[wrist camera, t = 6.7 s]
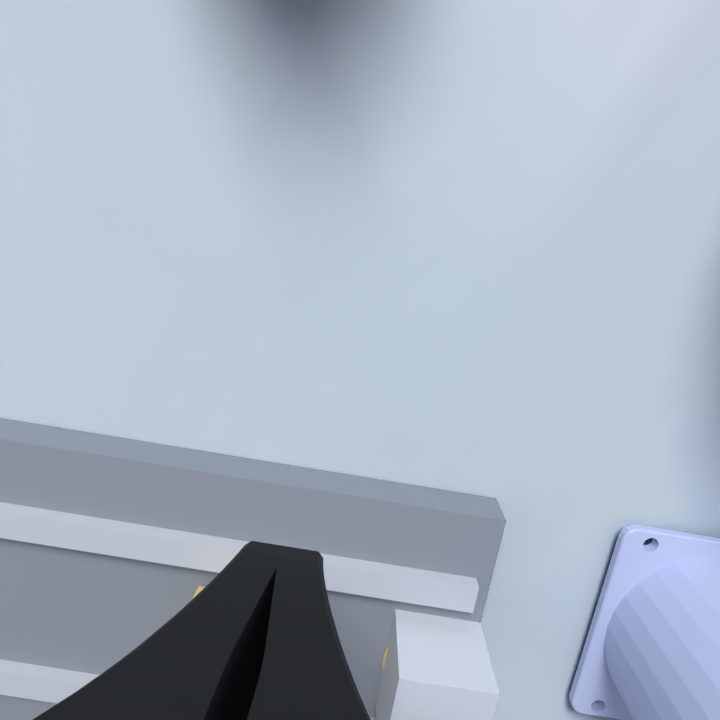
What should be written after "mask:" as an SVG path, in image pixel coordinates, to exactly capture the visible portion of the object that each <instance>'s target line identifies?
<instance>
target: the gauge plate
mask: <svg viewBox="0 0 720 720" xmlns="http://www.w3.org/2000/svg"><path fill="white" fill-rule="evenodd" d="M505 523H506V519H505V517H504V515H503V513H502V511H501V508H500V506H499V504H498V502H497V500H496V499H495V498H489V497H482V496H476V495H470V494H464V493H458V492H451V491H445V490H439V489H433V488H427V487H421V486H414V485H408V484H402V483H396V482H390V481H384V480H377V479H371V478H365V477H359V476H353V475H347V474H340V473H334V472H328V471H322V470H316V469H309V468H303V467H297V466H291V465H285V464H279V463H272V462H266V461H260V460H254V459H248V458H242V457H235V456H229V455H223V454H217V453H211V452H204V451H198V450H192V449H186V448H180V447H174V446H167V445H161V444H155V443H149V442H143V441H137V440H130V439H124V438H118V437H112V436H106V435H100V434H93V433H87V432H81V431H75V430H69V429H62V428H56V427H50V426H44V425H38V424H32V423H25V422H19V421H13V420H7V419H1V418H0V720H33V719H34V718H36V717H37V716H39V715H40V714H42V713H44V712H45V711H47V710H48V709H50V708H51V707H53V706H54V705H56V704H58V703H59V702H61V701H62V700H64V699H65V698H67V697H68V696H70V695H71V694H73V693H75V692H76V691H78V690H79V689H81V688H82V687H83V686H85V685H86V684H88V683H89V682H90V681H92V680H93V679H95V678H96V677H98V676H99V675H100V674H102V673H103V672H105V671H106V670H107V669H109V668H110V667H111V666H113V665H114V664H116V663H117V662H118V661H120V660H121V659H122V658H123V657H125V656H126V655H127V654H129V653H130V652H131V651H133V650H134V649H135V648H136V647H138V646H139V645H140V644H141V643H143V642H144V641H145V640H146V639H147V638H149V637H150V636H151V635H152V634H153V633H154V632H156V631H157V630H158V629H159V628H160V627H162V626H163V625H164V624H165V623H166V622H168V621H169V620H170V619H171V618H172V617H174V616H175V615H176V614H177V613H178V612H179V611H180V610H181V609H183V608H184V607H185V606H186V605H187V604H188V603H189V602H190V601H191V600H192V598H193V596H194V594H195V592H196V590H197V588H198V586H203V587H206V586H207V585H208V584H209V583H210V582H211V581H212V580H213V579H214V578H215V577H216V576H217V575H218V574H219V573H220V572H221V571H222V570H223V569H224V568H225V567H226V566H227V564H228V563H229V562H230V561H231V560H232V559H233V558H234V557H235V556H236V555H237V553H238V552H239V551H240V550H241V549H242V548H243V546H244V545H246V544H247V543H249V542H250V541H257V542H263V543H269V544H275V545H282V546H288V547H294V548H300V549H307V550H313V551H319V553H320V554H321V556H322V557H323V558H324V559H323V569H324V579H325V585H326V590H327V595H328V600H329V604H330V608H331V612H332V616H333V619H334V623H335V626H336V629H337V633H338V636H339V640H340V643H341V646H342V649H343V652H344V655H345V658H346V660H347V663H348V666H349V668H350V671H351V674H352V676H353V679H354V682H355V684H356V687H357V689H358V692H359V694H360V696H361V699H362V701H363V703H364V706H365V708H366V710H367V713H368V715H369V717H370V719H371V720H493V717H494V713H495V709H496V706H497V702H498V698H499V695H500V694H499V690H498V687H497V683H496V679H495V676H494V672H493V668H492V664H491V661H490V657H489V653H488V650H487V646H486V642H485V638H484V635H483V631H482V627H481V623H480V622H481V618H482V614H483V610H484V606H485V602H486V598H487V594H488V590H489V586H490V582H491V578H492V574H493V570H494V566H495V562H496V558H497V554H498V550H499V546H500V542H501V539H502V535H503V531H504V527H505Z"/></svg>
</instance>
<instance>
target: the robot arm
mask: <svg viewBox="0 0 720 720" xmlns="http://www.w3.org/2000/svg"><path fill="white" fill-rule="evenodd" d="M649 538H653V540H652V542H651V543H650V544H648V545H643V543H644V542H645V540H647V539H649ZM323 559H324V558H323V557H322V556H321V554H320V553H319V551H313V550H307V549H300V548H294V547H288V546H282V545H275V544H269V543H263V542H257V541H250V542H249V543H247V544H246V545H244V546H243V548H242V549H241V550H240V551H239V552H238V553H237V555H236V556H235V557H234V558H233V559H232V560H231V561H230V562H229V563H228V564H227V566H226V567H225V568H224V569H223V570H222V571H221V572H220V573H219V574H218V575H217V576H216V577H215V578H214V579H213V580H212V581H211V582H210V583H209V584H208V585H207V586H206V587H205V588H204V589H203V590H202V591H201V592H199V593H198V594H197V595H196V596H195V597H194V598H193V599H192V600H191V601H190V602H189V603H188V604H187V605H186V606H185V607H184V608H183V609H181V610H180V611H179V612H178V613H177V614H176V615H175V616H174V617H172V618H171V619H170V620H169V621H168V622H166V623H165V624H164V625H163V626H162V627H160V628H159V629H158V630H157V631H156V632H154V633H153V634H152V635H151V636H150V637H149V638H147V639H146V640H145V641H144V642H143V643H141V644H140V645H139V646H138V647H136V648H135V649H134V650H133V651H131V652H130V653H129V654H127V655H126V656H125V657H123V658H122V659H121V660H120V661H118V662H117V663H116V664H114V665H113V666H111V667H110V668H109V669H107V670H106V671H105V672H103V673H102V674H100V675H99V676H98V677H96V678H95V679H93V680H92V681H90V682H89V683H88V684H86V685H85V686H83V687H82V688H81V689H79V690H78V691H76V692H75V693H73V694H71V695H70V696H68V697H67V698H65V699H64V700H62V701H61V702H59V703H58V704H56V705H54V706H53V707H51V708H50V709H48V710H47V711H45V712H44V713H42V714H40V715H39V716H37V717H36V718H34V719H33V720H371V719H370V717H369V715H368V713H367V710H366V708H365V706H364V703H363V701H362V699H361V696H360V694H359V692H358V689H357V687H356V684H355V682H354V679H353V676H352V674H351V671H350V668H349V666H348V663H347V660H346V658H345V655H344V652H343V649H342V646H341V643H340V640H339V636H338V633H337V629H336V626H335V623H334V619H333V616H332V612H331V608H330V604H329V600H328V595H327V590H326V585H325V579H324V569H323ZM569 700H570V702H571V705H572V707H573V709H574V710H575V711H576V712H578V713H581V714H588V715H594V716H600V717H607V718H613V719H620V720H720V538H716V537H710V536H704V535H698V534H691V533H685V532H679V531H673V530H667V529H660V528H654V527H648V526H642V525H629V526H626V527H624V528H623V529H622V530H621V531H620V533H619V535H618V539H617V542H616V545H615V548H614V551H613V555H612V558H611V561H610V564H609V568H608V571H607V574H606V577H605V581H604V584H603V587H602V590H601V593H600V597H599V600H598V603H597V606H596V610H595V613H594V616H593V619H592V623H591V626H590V629H589V632H588V635H587V639H586V642H585V645H584V648H583V652H582V655H581V658H580V661H579V665H578V668H577V671H576V674H575V678H574V681H573V684H572V687H571V690H570V694H569ZM598 700H599V701H598ZM595 701H598V702H596V703H593V702H595Z"/></svg>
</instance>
